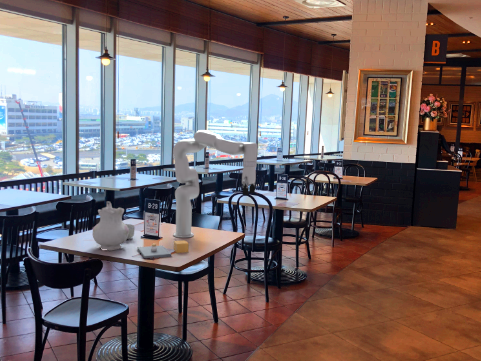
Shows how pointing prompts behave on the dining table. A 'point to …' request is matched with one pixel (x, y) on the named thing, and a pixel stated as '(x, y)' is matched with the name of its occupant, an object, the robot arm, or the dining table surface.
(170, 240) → the dining table surface
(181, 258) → the dining table surface
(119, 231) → the ceramic pitcher
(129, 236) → the teacup
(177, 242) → the yellow rounded block
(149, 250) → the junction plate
